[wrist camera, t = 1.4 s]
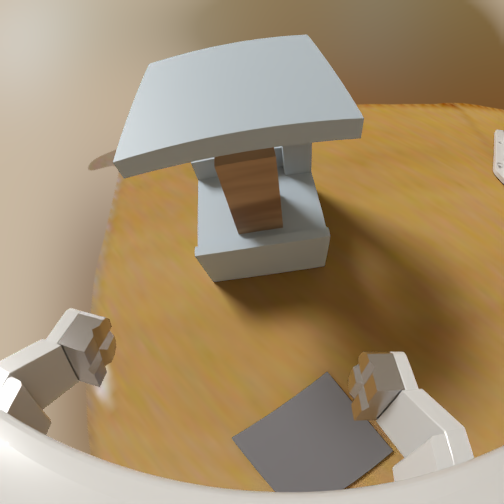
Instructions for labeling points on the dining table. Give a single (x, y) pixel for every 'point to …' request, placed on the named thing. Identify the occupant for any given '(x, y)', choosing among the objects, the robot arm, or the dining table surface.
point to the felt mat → (313, 442)
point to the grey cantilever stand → (243, 142)
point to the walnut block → (251, 189)
